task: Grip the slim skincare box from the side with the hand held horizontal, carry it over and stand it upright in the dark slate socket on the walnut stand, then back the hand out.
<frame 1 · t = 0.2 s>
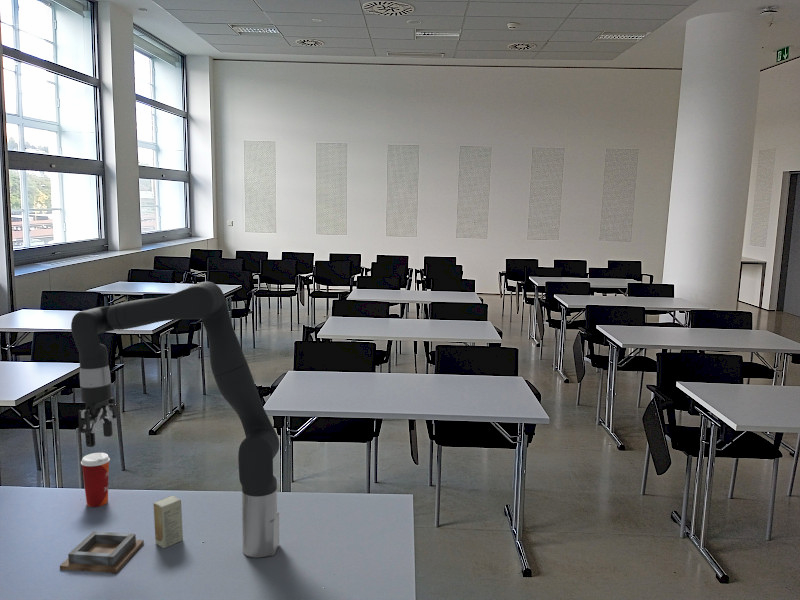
hand: (99, 441, 181), 29 cm above the table, tool pointing down, fingers open, 8 cm apart
coffee cup: (97, 503, 208), on the table
socket stand: (103, 556, 177), on the table
skincare box: (168, 542, 185), on the table
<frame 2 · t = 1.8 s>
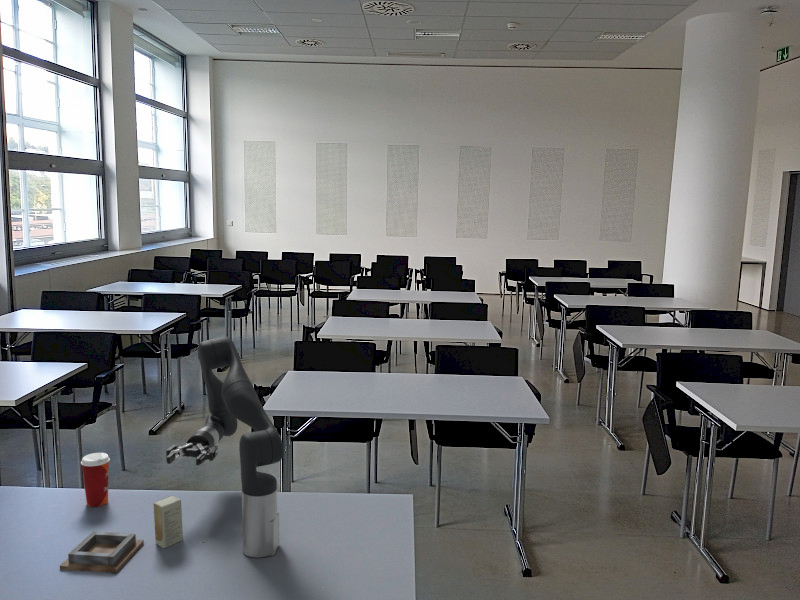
hand: (182, 461, 193), 19 cm above the table, tool horizontal, fingers open, 8 cm apart
nothing on the table moved.
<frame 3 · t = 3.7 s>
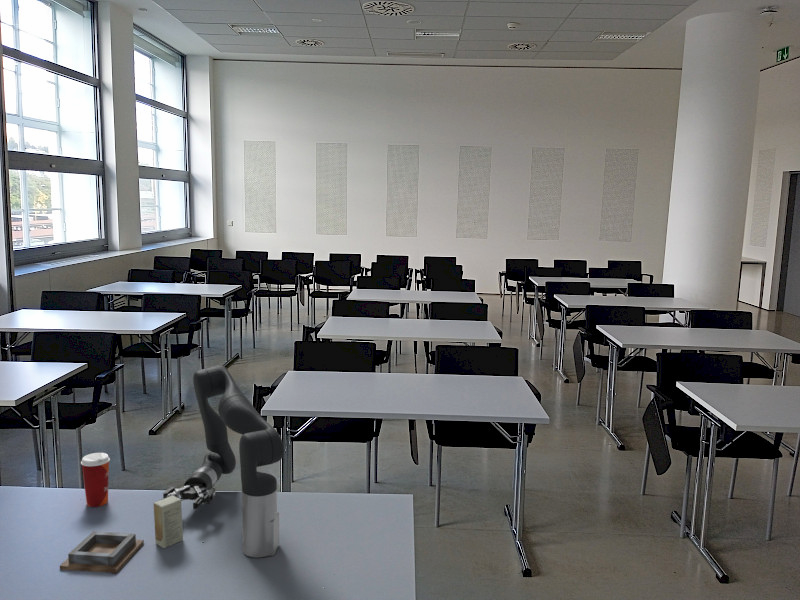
hand: (179, 505, 191), 7 cm above the table, tool horizontal, fingers open, 8 cm apart
nothing on the table moved.
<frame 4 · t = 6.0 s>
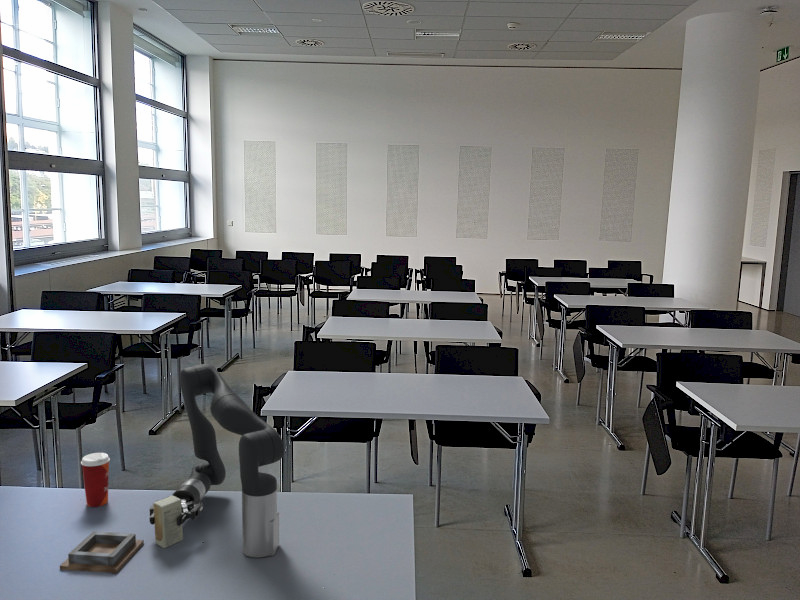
hand: (164, 521, 181), 7 cm above the table, tool horizontal, fingers closed on skincare box, 7 cm apart
skincare box: (168, 542, 185), on the table, touching gripper
everything else where it was.
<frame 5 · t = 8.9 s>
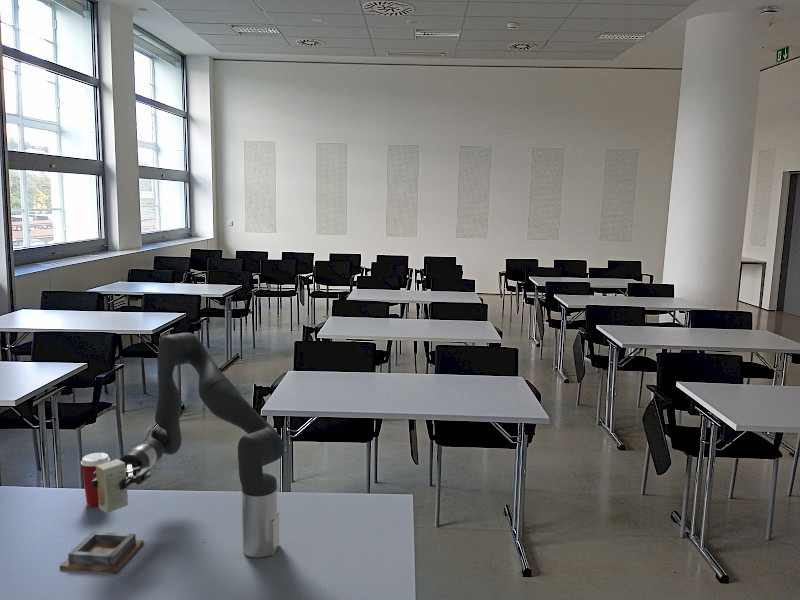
hand: (107, 485, 174), 20 cm above the table, tool horizontal, fingers closed on skincare box, 7 cm apart
skincare box: (113, 508, 177), point 12 cm above the table, touching gripper
everything else where it was.
when the fingers open (9 cm above the table, at t = 11.8 s): skincare box drops 1 cm, resting on socket stand.
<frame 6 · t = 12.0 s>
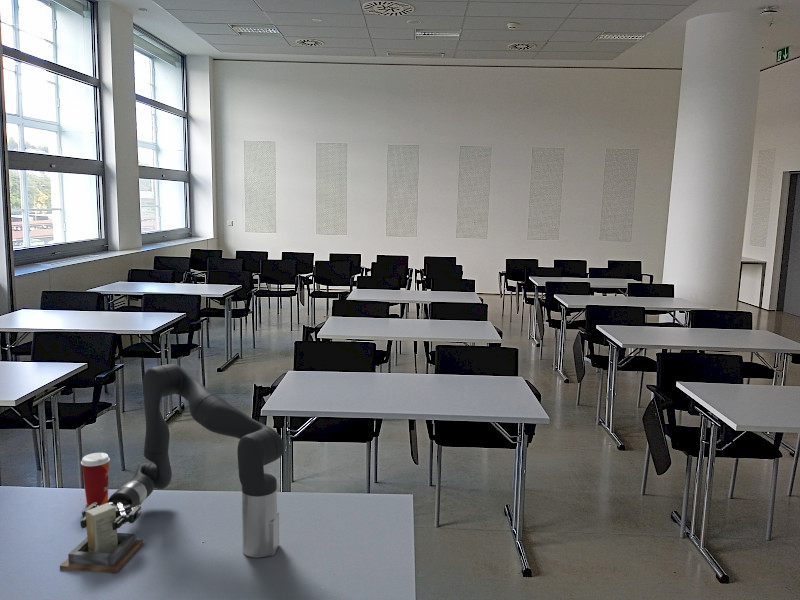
hand: (98, 525, 173), 9 cm above the table, tool horizontal, fingers open, 8 cm apart
skincare box: (102, 552, 177), point 1 cm above the table, touching socket stand
everything else where it was.
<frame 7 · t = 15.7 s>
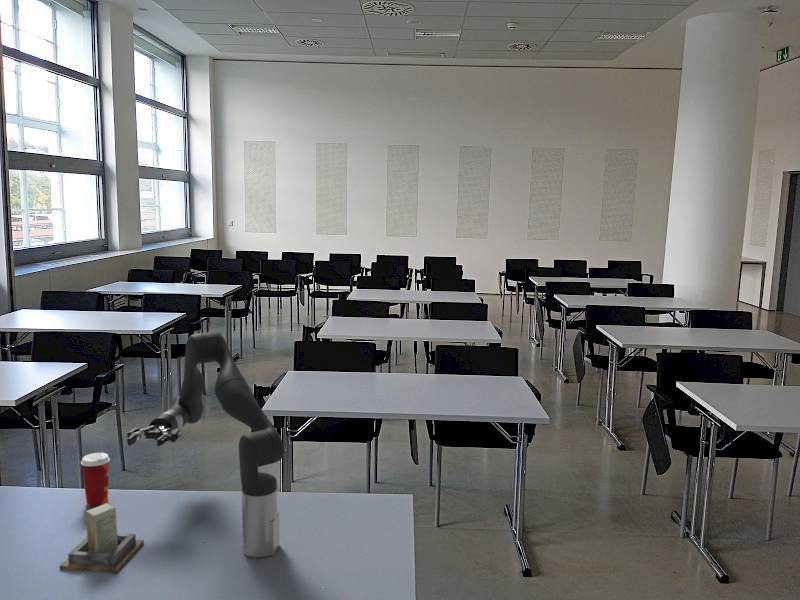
hand: (143, 442, 190), 25 cm above the table, tool horizontal, fingers open, 8 cm apart
nothing on the table moved.
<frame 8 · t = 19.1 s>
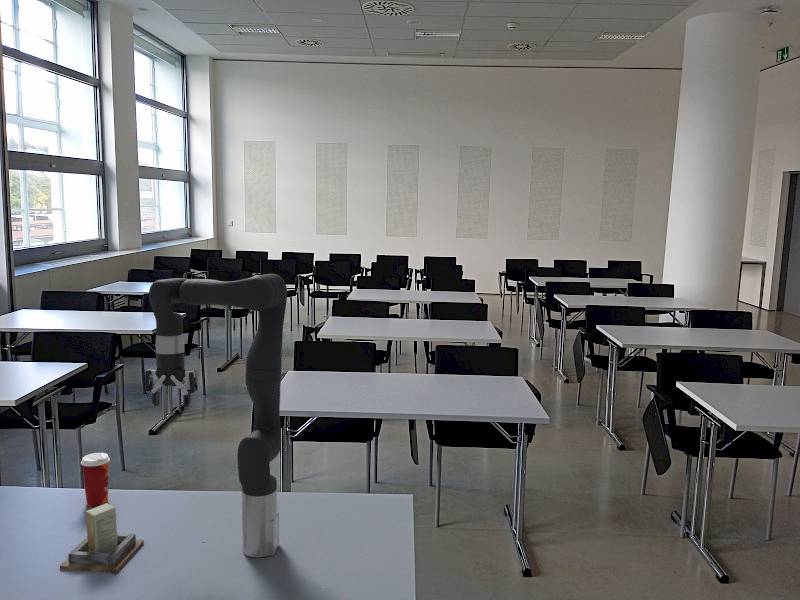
hand: (171, 406, 188), 36 cm above the table, tool pointing down, fingers open, 8 cm apart
nothing on the table moved.
at the end: skincare box 0.3 cm off-centre on the socket stand, point 0.8 cm above the socket stand's base; skincare box tilted 0°; the gripper is holding nothing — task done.
